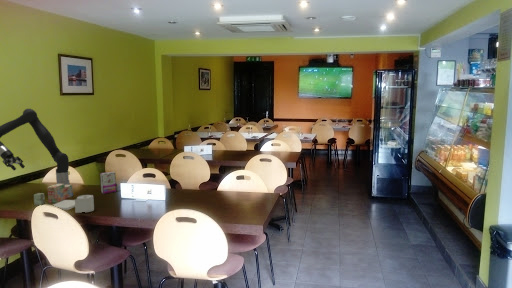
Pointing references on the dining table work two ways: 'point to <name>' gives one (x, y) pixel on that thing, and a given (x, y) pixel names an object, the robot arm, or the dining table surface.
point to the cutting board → (65, 204)
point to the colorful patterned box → (59, 192)
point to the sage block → (39, 199)
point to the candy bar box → (108, 182)
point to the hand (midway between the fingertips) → (19, 168)
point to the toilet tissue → (84, 204)
